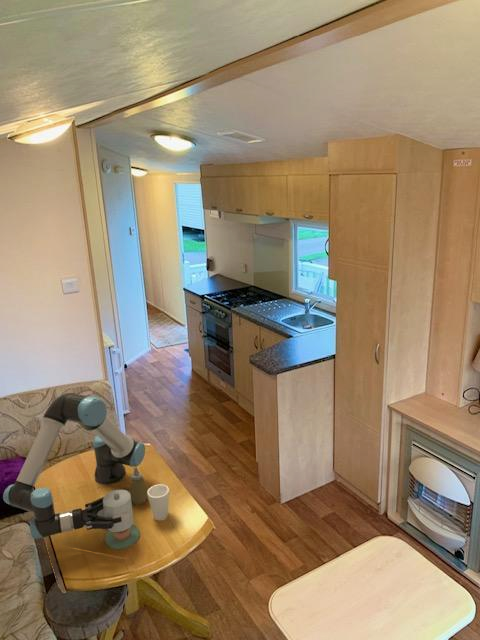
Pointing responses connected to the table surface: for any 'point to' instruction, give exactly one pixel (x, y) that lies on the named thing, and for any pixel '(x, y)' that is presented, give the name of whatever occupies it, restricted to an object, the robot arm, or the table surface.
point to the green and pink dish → (122, 538)
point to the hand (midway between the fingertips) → (128, 506)
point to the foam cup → (159, 501)
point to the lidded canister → (118, 508)
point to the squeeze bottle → (138, 488)
